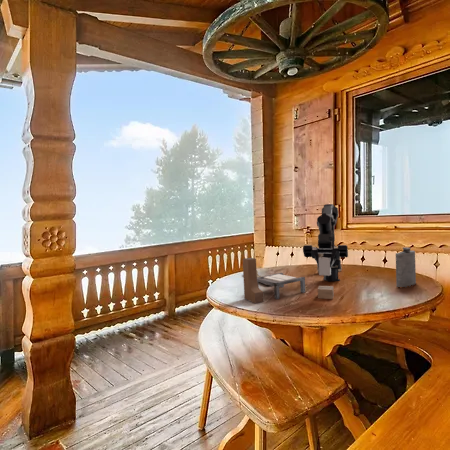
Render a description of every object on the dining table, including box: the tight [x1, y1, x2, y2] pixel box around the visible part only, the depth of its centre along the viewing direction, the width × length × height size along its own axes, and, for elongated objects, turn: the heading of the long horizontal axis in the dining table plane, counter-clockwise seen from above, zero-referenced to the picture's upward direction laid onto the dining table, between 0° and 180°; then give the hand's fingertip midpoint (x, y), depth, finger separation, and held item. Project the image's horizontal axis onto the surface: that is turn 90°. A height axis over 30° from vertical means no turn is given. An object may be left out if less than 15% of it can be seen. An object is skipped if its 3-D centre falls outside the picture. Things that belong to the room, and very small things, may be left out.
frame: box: [257, 272, 306, 300], centre depth 146 cm, size 18×16×7 cm
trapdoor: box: [260, 273, 297, 288], centre depth 145 cm, size 12×12×3 cm
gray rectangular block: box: [318, 257, 331, 276], centre depth 134 cm, size 4×4×7 cm
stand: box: [317, 285, 335, 300], centre depth 135 cm, size 6×6×4 cm
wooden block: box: [242, 257, 265, 304], centre depth 134 cm, size 9×4×18 cm, turn 27°
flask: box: [395, 247, 417, 288], centre depth 147 cm, size 4×14×18 cm, turn 124°
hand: (324, 266), depth 133 cm, fingers closed on gray rectangular block, 4 cm apart
